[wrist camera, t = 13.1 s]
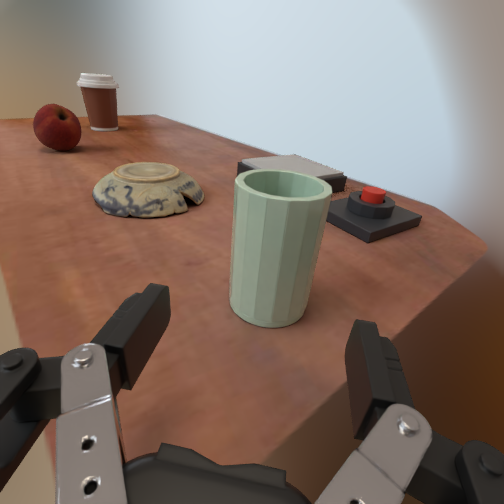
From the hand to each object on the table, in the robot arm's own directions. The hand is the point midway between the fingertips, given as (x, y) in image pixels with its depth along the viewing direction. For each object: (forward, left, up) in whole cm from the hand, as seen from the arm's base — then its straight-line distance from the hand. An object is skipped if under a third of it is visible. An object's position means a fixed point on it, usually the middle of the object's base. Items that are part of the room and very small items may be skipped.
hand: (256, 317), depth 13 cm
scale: (-29, -30, -7) cm, 42 cm away
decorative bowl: (-6, -33, -7) cm, 34 cm away
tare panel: (-29, -14, -7) cm, 33 cm away
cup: (-7, -7, -7) cm, 12 cm away
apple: (+1, -62, -7) cm, 63 cm away
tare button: (-29, -14, -4) cm, 32 cm away
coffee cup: (-11, -82, -7) cm, 83 cm away
